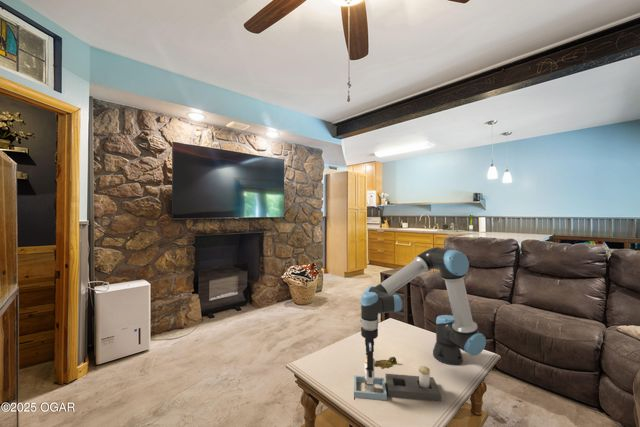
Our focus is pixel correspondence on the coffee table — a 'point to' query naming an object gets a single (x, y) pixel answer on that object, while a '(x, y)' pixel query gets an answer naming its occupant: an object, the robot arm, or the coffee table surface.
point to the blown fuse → (367, 386)
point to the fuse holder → (411, 388)
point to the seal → (385, 363)
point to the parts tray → (370, 394)
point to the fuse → (424, 377)
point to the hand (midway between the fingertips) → (369, 376)
